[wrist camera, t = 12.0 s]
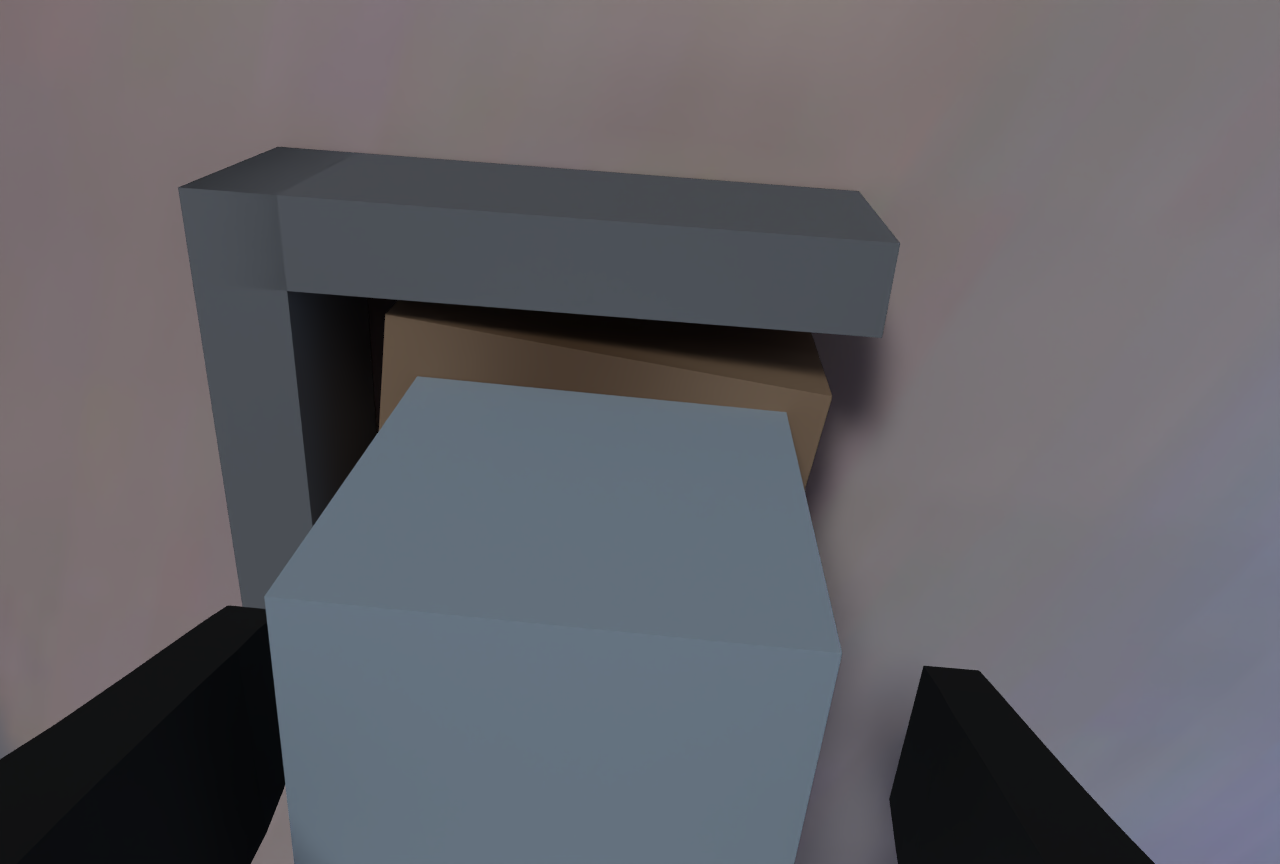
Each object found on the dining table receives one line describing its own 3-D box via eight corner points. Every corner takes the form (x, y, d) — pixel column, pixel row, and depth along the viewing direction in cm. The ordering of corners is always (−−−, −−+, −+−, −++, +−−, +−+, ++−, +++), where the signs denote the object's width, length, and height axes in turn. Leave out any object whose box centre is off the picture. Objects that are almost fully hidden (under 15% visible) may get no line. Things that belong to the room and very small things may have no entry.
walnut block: (807, 321, 15) (832, 396, 12) (727, 614, 18) (733, 729, 15) (441, 253, 15) (385, 314, 12) (416, 560, 17) (365, 666, 15)
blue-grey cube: (786, 411, 12) (842, 654, 8) (737, 698, 15) (760, 1014, 10) (417, 376, 12) (263, 596, 8) (422, 667, 15) (306, 968, 10)
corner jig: (859, 191, 14) (900, 243, 11) (780, 657, 18) (796, 780, 15) (278, 146, 14) (178, 187, 11) (327, 619, 18) (262, 734, 15)
